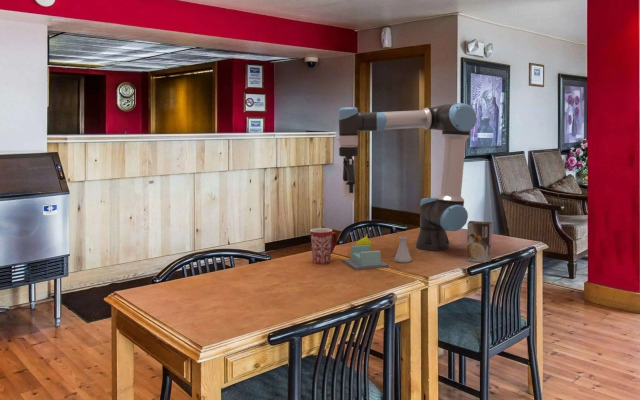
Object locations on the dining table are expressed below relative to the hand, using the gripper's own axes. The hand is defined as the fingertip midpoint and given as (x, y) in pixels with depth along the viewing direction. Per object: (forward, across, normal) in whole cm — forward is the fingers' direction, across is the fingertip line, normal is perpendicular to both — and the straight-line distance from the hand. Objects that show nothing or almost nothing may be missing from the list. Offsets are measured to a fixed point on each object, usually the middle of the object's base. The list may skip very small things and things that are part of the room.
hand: (348, 198), depth 227 cm
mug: (+26, -1, -10) cm, 28 cm away
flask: (+26, +1, +22) cm, 35 cm away
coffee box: (+27, +4, +53) cm, 60 cm away
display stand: (+26, +6, +6) cm, 27 cm away
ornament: (+26, -12, +8) cm, 30 cm away
